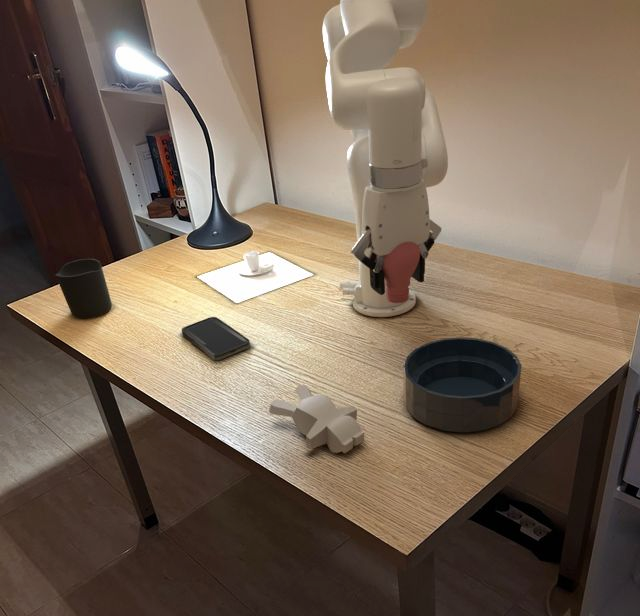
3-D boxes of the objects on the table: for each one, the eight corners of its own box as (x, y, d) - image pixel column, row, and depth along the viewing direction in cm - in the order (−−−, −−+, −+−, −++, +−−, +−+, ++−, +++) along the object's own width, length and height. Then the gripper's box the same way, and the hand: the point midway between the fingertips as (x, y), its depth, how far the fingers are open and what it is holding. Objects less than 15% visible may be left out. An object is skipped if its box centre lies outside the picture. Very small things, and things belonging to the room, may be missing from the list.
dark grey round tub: (394, 428, 94) (393, 392, 90) (415, 368, 106) (415, 334, 103) (513, 440, 89) (517, 403, 85) (520, 376, 102) (524, 341, 98)
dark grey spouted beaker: (122, 307, 138) (108, 264, 132) (84, 324, 133) (68, 280, 127) (100, 297, 143) (86, 255, 137) (62, 314, 138) (46, 271, 132)
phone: (214, 315, 127) (251, 341, 117) (215, 320, 128) (252, 346, 118) (178, 329, 124) (214, 356, 114) (180, 334, 125) (215, 361, 114)
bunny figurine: (330, 446, 85) (260, 396, 94) (330, 473, 89) (263, 422, 97) (378, 415, 90) (307, 370, 98) (376, 441, 93) (308, 395, 102)
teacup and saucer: (280, 270, 146) (277, 253, 143) (250, 281, 143) (247, 264, 140) (261, 260, 152) (258, 244, 149) (232, 270, 149) (229, 254, 146)
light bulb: (408, 316, 102) (407, 245, 95) (369, 308, 105) (366, 239, 98) (426, 296, 106) (427, 227, 99) (388, 290, 110) (386, 222, 102)
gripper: (430, 156, 98) (429, 264, 109) (331, 181, 93) (340, 291, 104) (459, 167, 93) (455, 279, 104) (356, 194, 88) (362, 309, 99)
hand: (397, 284), depth 104 cm, fingers closed on light bulb, 6 cm apart
